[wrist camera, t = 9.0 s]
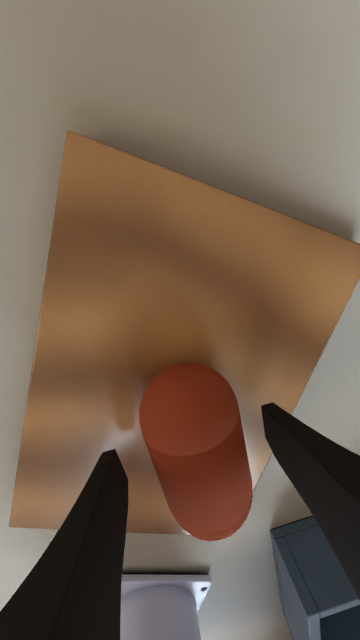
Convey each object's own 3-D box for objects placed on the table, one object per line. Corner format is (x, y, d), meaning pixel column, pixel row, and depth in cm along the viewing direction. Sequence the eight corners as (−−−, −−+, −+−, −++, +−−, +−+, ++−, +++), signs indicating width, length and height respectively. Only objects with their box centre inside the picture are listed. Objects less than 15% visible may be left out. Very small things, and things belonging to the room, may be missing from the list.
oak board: (225, 518, 17) (230, 537, 16) (18, 505, 14) (8, 527, 13) (353, 248, 12) (374, 249, 11) (75, 142, 9) (66, 128, 8)
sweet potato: (234, 460, 14) (276, 540, 10) (168, 487, 14) (186, 581, 10) (208, 336, 12) (252, 381, 8) (125, 362, 11) (126, 425, 7)
